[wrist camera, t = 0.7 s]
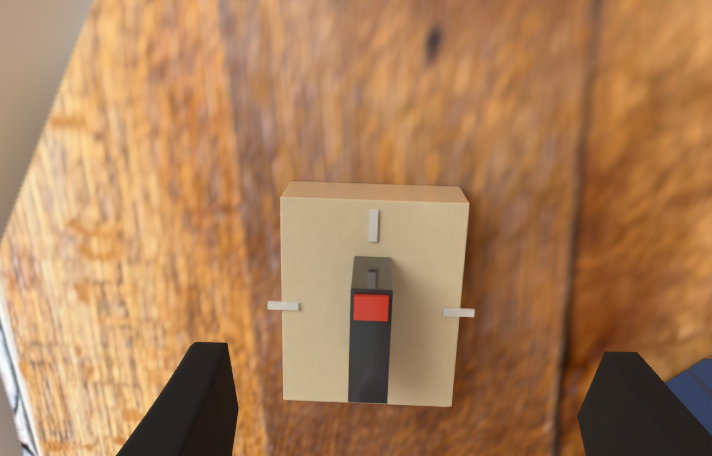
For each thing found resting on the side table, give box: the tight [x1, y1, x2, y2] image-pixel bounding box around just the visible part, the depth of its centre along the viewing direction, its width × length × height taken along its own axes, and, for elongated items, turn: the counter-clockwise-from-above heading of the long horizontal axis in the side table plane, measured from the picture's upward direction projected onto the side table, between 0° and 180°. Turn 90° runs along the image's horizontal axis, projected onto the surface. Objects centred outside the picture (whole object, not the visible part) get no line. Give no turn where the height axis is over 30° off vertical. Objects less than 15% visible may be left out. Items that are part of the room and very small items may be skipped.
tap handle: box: [348, 256, 393, 404], centre depth 24 cm, size 5×2×4 cm, turn 178°
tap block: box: [268, 181, 475, 407], centre depth 27 cm, size 10×9×3 cm
